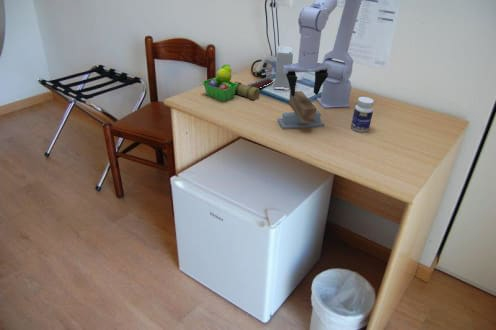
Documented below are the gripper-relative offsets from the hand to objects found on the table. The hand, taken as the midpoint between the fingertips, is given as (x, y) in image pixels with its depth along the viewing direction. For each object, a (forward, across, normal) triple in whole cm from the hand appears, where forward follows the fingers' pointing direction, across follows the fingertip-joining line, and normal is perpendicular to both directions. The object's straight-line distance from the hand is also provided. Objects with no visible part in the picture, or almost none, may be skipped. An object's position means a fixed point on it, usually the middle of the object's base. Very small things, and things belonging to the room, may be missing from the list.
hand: (304, 94), depth 126 cm
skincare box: (+10, +3, +32) cm, 34 cm away
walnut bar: (+7, 0, 0) cm, 7 cm away
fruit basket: (+10, -22, +26) cm, 36 cm away
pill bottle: (+10, +18, -6) cm, 22 cm away
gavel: (+11, -7, +31) cm, 33 cm away
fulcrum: (+10, 0, 0) cm, 10 cm away
